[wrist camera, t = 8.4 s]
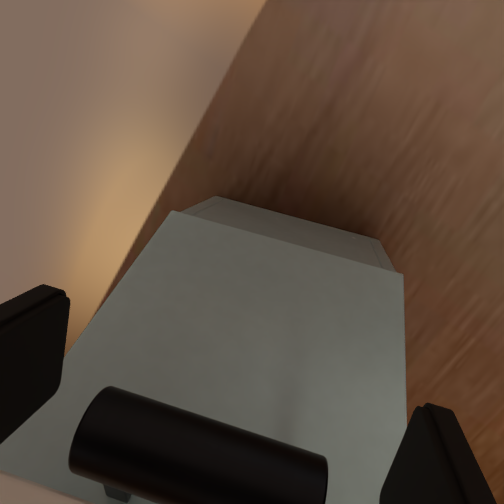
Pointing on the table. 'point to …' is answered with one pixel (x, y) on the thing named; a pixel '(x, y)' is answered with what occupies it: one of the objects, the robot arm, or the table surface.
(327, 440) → the lid
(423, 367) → the table surface
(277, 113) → the table surface
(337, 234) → the light blue open box
